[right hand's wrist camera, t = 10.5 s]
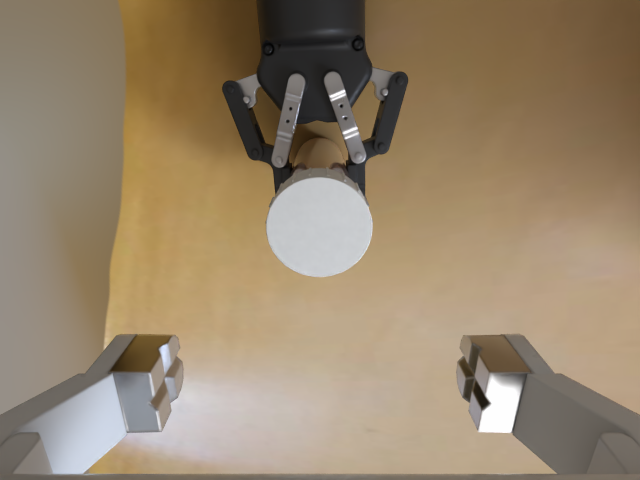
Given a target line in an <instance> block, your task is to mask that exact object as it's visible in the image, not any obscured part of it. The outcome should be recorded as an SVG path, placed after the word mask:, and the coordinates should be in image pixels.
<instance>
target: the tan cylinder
mask: <svg viewBox="0 0 640 480" xmlns="http://www.w3.org/2000/svg"><path fill="white" fill-rule="evenodd" d="M326 167H328V168H329V169H331V170H335V171H337V172H340V173H344V174H345V176H347V177H348V178H349V174H348V171H347V168H346V165H345V162H344V159H343V156H342V153H341V151H340V149H339V147H338V146H337V145H336V144H335V143H334V142H332V141H331V140H329V139H326V138H313V139H310V140H308V141H307V142H305V143H304V144H303V145H302V146H301V147H300V149H299V151H298V153H297V156H296V159H295V162H294V165H293V168H292V171H291V174H290V177H291V176H293V174H294V173H296V174H297V173H299V172H301V171H304V170H308V169H309V168H311V169H313V168H325V169H326ZM290 177H289V178H290Z"/></svg>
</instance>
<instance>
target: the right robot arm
mask: <svg viewBox="0 0 640 480" xmlns="http://www.w3.org/2000/svg"><path fill="white" fill-rule="evenodd" d="M179 349H180V344H179V339H178V337H177V336H176V335H158V334H139V335H138V334H120V335H117V336H116V337H115V338H114V339H113V340H112V341H111V343H110V344H109V345H108V346H107V348H106V349H105V350H104V351H103V352H102V354H101V355H100V356H99V357H98V358H97V360H96V361H95V362H94V363H93V364H92V366H91V367H90V368H89V369H88V371H87V372H86V373H85V374H77V375H75V376H74V377H72V378H70V379H68V380H66V381H64V382H62V383H60V384H58V385H56V386H54V387H53V388H51V389H49V390H47V391H45V392H43V393H41V394H39V395H37V396H36V397H34V398H32V399H30V400H28V401H26V402H24V403H22V404H20V405H18V406H16V407H14V408H13V409H11V410H9V411H7V412H5V413H3V414H1V415H0V480H640V415H639V414H637V413H635V412H633V411H631V410H629V409H627V408H625V407H623V406H622V405H620V404H618V403H616V402H614V401H612V400H610V399H608V398H606V397H604V396H603V395H601V394H599V393H597V392H595V391H593V390H591V389H589V388H587V387H585V386H584V385H582V384H580V383H578V382H576V381H574V380H572V379H570V378H568V377H566V376H565V375H563V374H555V373H554V372H553V371H552V369H551V368H550V367H549V366H548V365H547V363H546V362H545V361H544V360H543V358H542V357H541V356H540V355H539V354H538V352H537V351H536V350H535V349H534V348H533V346H532V345H531V344H530V343H529V342H528V340H527V339H526V338H525V337H524V336H523V335H521V334H501V335H463V337H462V339H461V344H460V349H461V351H462V353H463V355H464V356H463V357H462V358H461V359H460V360H459V361H458V363H457V371H456V374H457V384H458V388H459V391H460V393H461V395H462V398H464V399H465V400H466V401H468V402H469V403H470V405H469V413H470V415H471V417H472V419H473V422H474V424H475V426H476V428H477V430H478V432H499V433H513V435H514V436H515V437H516V438H517V439H518V440H520V441H521V442H522V443H523V444H524V445H525V446H526V447H528V448H529V449H530V450H531V451H532V452H533V453H534V454H536V455H537V456H538V457H539V458H540V459H541V460H542V461H544V462H545V463H546V464H547V465H548V466H549V467H550V468H552V469H553V470H554V471H555V472H556V473H557V474H83V473H84V472H85V471H86V470H87V469H88V468H90V467H91V466H92V465H93V464H94V463H95V462H97V461H98V460H99V459H100V458H101V457H102V456H103V455H105V454H106V453H107V452H108V451H109V450H110V449H111V448H113V447H114V446H115V445H116V444H117V443H118V442H120V441H121V440H122V439H123V438H124V437H125V436H126V435H127V433H140V432H162V430H163V428H164V426H165V424H166V422H167V419H168V417H169V415H170V413H171V405H170V403H171V402H172V401H174V400H175V399H176V398H178V395H179V393H180V391H181V388H182V383H183V362H182V361H181V360H180V359H179V358H178V357H177V356H176V355H177V353H178V351H179Z"/></svg>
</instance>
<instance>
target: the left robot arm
mask: <svg viewBox="0 0 640 480" xmlns="http://www.w3.org/2000/svg"><path fill="white" fill-rule="evenodd" d="M257 10H258V21H259V31H260V42H261V59H260V63H259V65H258V68H257V73H256V74H254V75H251V76H249V77H246V78H243V79H241V80H238V81H226V82H225V83H224V84H223V87H222V91H223V94H224V96H225V99H226V101H227V104H228V106H229V109H230V111H231V114H232V116H233V119H234V121H235V124H236V126H237V129H238V131H239V134H240V136H241V139H242V141H243V144H244V146H245V149H246V151H247V154H248V156H249V158H251V159H252V160H260V161H263V162H266V163H268V164H270V165H271V167H272V168H273V174H274V184H275V195H276V193H277V191H278V190H279V187H280V185H281V183H282V184H283V183H284V182H285V181H286V180H288V179H289V177H290V174H291V171H292V163H289V154H290V150H291V146H292V142H293V138H294V134H295V131H296V126H297V124H306V123H309V122H312V121H315V120H319V121H323V122H338V125H339V127H340V130H341V133H342V136H343V138H344V141H345V144H346V147H347V150H348V160H346V168H347V171H348V174H349V178H350V179H351V180H352V181H353V182H354V183H357V184H358V187H359V189H360V190H361V192H362V194H363V196H365V164H366V161H367V160H368V159H369V158H371V157H373V156H375V155H378V154H385V153H386V152H387V151H388V150H389V147H390V143H391V140H392V136H393V133H394V129H395V126H396V122H397V119H398V115H399V112H400V108H401V105H402V101H403V98H404V94H405V91H406V87H407V84H408V77H407V75H406V74H405V73H404V72H390V71H386V70H382V69H378V68H374V67H372V63H371V61H370V59H369V57H368V55H367V52H366V48H365V0H257ZM369 81H371V82H372V83H373V85H374V95H375V97H376V98H377V99H378V100H381V102H380V105H379V109H378V113H377V117H376V120H375V124H374V128H373V132H372V136H371V138H369V139H366V140H364V141H362V140H361V137H360V134H359V131H358V128H357V125H356V122H355V119H354V116H353V113H352V110H351V108H352V106H353V105H354V103H355V102H356V100H357V99H358V97H359V96H360V94H361V92H362V91H363V89H364V88H365V86H366V85H367V83H368V82H369ZM260 87H262V88H263V90H264V91H265V92H266V93H267V95H268V96H269V97H270V98H271V100H272V101H273V102H274V103H275V105H276V106H277V107H278V108H279V110H280V111H281V116H280V120H279V125H278V129H277V135H276V140H275V145H274V146H273V145H270V144H267V143H265V140H264V138H263V135H262V132H261V130H260V127H259V124H258V122H257V119H256V116H255V114H254V111H253V109H252V107H254V106H255V105H256V104H257V101H258V98H257V91H258V89H259V88H260Z"/></svg>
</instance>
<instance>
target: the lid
mask: <svg viewBox="0 0 640 480" xmlns="http://www.w3.org/2000/svg"><path fill="white" fill-rule="evenodd" d="M269 207H270V210H269V212H268V216H267V220H266V233H267V238H268V241H269V244H270V247H271V249H272V251H273V252H274V254H275V255H276V257H277V258H278V259H279V260H280V261H281V262H282V263H283V264H284V265H286V266H287V267H288V268H290V269H291V270H293V271H295V272H297V273H300V274H303V275H307V276H313V277H325V276H331V275H335V274H338V273H341V272H343V271H345V270H347V269H349V268H350V267H352V266H353V265H354V264H355V263H356V262H358V261H359V259H360V258H361V257H362V256H363V254H364V253H365V251H366V250H367V248H368V246H369V243H370V240H371V235H372V223H373V220H372V218H371V214H370V211H369V208H368V207H369V204H368V201H367V199H366V197H365V196H363V194H362V192H361V190H360V189H359V187H358V184H357V183H354V182H353V181H352V180H351V179H350V178H348V177H347V176H345V174H344V173H340V172H337V171H335V170H331V169H329V168H328V167H326V169H325V168H313V169H311V168H309V169H308V170H304V171H301V172H299V173H297V174H296V173H294V174H293V176H291V177H290V178H289V179H288V180H286V181H285V182H284V183H283V184H282V183H281V185H280V187H279V190H278V191H277V193H276V195H275V197H273V198H272V200H271V203H270V205H269Z"/></svg>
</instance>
